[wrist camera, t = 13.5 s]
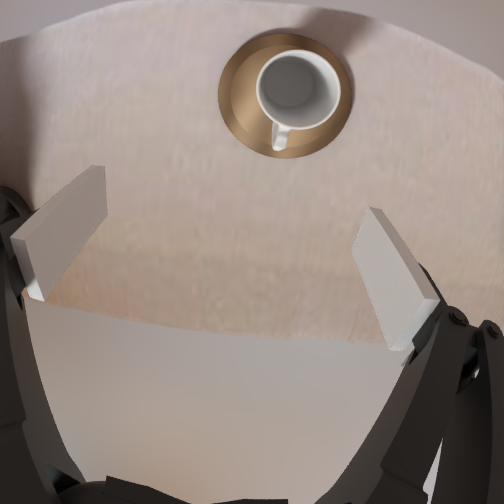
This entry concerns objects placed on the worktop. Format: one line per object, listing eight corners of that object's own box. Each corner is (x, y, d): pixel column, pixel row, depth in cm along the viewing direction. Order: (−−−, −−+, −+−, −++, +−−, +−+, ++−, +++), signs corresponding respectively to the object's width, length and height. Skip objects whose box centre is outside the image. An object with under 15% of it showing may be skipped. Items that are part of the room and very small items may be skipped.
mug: (266, 49, 28) (268, 39, 18) (322, 66, 29) (351, 65, 19) (245, 127, 34) (237, 154, 24) (299, 141, 35) (314, 174, 25)
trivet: (210, 143, 36) (208, 146, 35) (231, 24, 27) (230, 22, 26) (330, 168, 38) (332, 171, 37) (362, 55, 28) (365, 55, 28)
